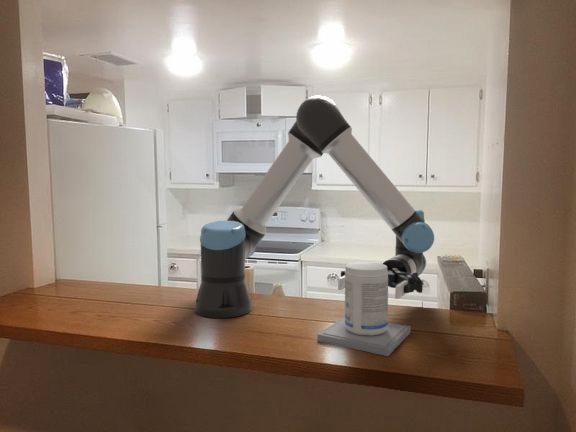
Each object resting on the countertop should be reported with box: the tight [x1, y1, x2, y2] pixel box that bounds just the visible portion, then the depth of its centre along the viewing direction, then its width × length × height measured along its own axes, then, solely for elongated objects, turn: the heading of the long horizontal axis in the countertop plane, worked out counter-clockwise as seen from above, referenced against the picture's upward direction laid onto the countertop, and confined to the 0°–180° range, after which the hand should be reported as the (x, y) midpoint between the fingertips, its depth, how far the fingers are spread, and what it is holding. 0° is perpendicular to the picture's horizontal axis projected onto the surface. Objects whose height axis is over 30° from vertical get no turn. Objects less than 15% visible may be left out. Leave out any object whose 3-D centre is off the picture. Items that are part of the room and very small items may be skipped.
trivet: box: [316, 316, 411, 357], centre depth 102 cm, size 16×16×2 cm
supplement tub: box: [344, 261, 389, 336], centre depth 101 cm, size 10×10×15 cm
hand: (367, 288), depth 101 cm, fingers open, 13 cm apart
